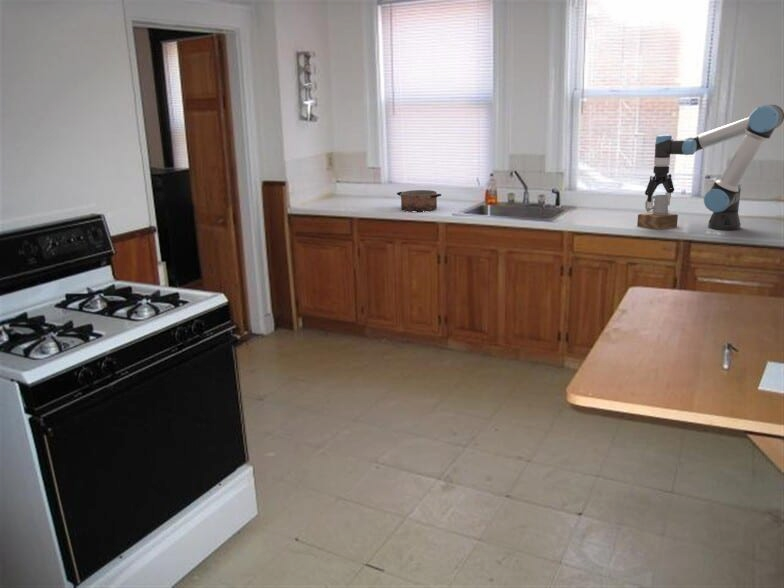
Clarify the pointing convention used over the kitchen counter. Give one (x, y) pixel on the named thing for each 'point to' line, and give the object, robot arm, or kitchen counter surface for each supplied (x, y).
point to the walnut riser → (657, 220)
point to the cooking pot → (419, 200)
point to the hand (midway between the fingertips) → (658, 206)
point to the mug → (659, 205)
